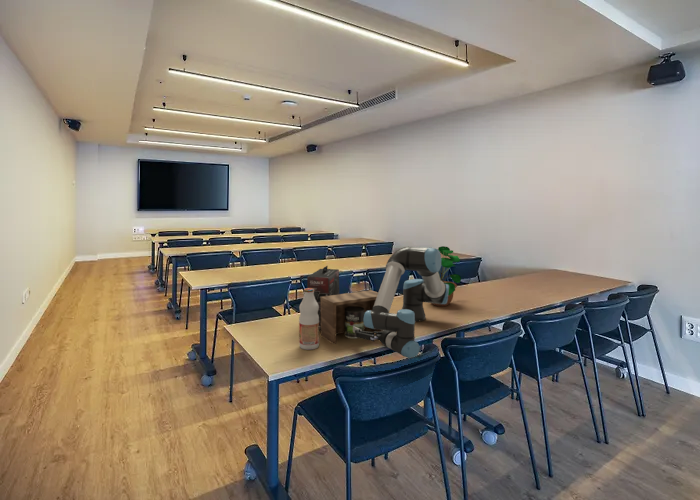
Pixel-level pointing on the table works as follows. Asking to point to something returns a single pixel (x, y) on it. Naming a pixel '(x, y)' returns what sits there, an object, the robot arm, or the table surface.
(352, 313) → the coffee can
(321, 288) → the headset box
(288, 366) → the table surface
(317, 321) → the fruit juice
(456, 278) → the potted plant
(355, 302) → the cubby
